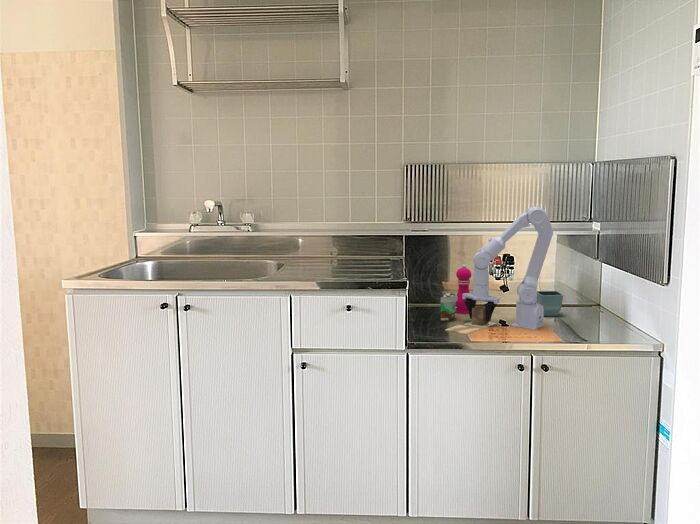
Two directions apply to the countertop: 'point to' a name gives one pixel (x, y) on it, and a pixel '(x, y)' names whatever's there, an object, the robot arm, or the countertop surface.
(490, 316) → the robot arm
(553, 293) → the flower pot
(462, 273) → the pepper mill
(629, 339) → the countertop surface
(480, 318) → the block
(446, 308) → the food container
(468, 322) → the tile
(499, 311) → the countertop surface
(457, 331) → the coaster
